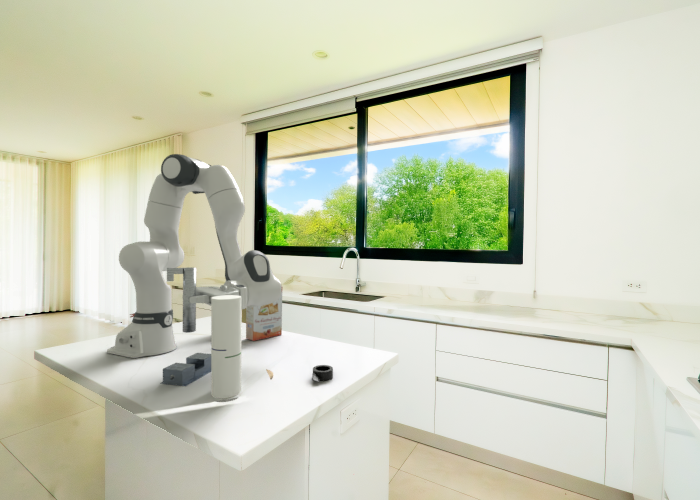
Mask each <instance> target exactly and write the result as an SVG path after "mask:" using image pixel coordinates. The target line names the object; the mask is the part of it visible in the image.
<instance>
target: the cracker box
mask: <svg viewBox="0 0 700 500" xmlns="http://www.w3.org/2000/svg"><path fill="white" fill-rule="evenodd" d="M245 313H246V316H245V320H246V322H245V338H246V339H247V340H250V341H252V342H255V341H260V340H263V339H269V338H274V337H279V336H282V329H283V328H282V325H283V323H282V322H283V291H282V292H281V295H280V297H279V299H278V300H277V301H276V302H274V303H271V304H267V305H262V306H247V307H246V312H245Z"/></svg>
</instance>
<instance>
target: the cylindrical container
mask: <svg viewBox="0 0 700 500" xmlns="http://www.w3.org/2000/svg"><path fill="white" fill-rule="evenodd" d="M210 307H211V308H210V309H211V311H210V313H211V315H210V318H211V322H210V325H211V328H210V329H211V330H210V331H211V332H210V333H211V335H210V337H211V338H210V339H211V343H210V346H211V349H210V351H211V352H210V354H211V372H210V373H211V375H210V377H211V379H210V380H211V381H210V382H211V384H210V385H211V387H210V388H211V392H210V394H211V396H212V397H213V398H215V399H219V400H215V401H214V402H217V403H228V402H233V401H235V400H237V399H239V397H235V396H238V395H240V393H241V392H242V331H241V296H238V295H222V296H215V297H212V298H211V306H210Z"/></svg>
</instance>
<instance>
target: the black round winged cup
mask: <svg viewBox="0 0 700 500" xmlns="http://www.w3.org/2000/svg"><path fill="white" fill-rule="evenodd" d="M311 375H312V376H311V378H312V379H311V380H312V381H315V382H318V383H319V382H328V381H332V379H333V378H334V376H333V375H334V368H333V366H331V365H328V364H319V365H318V364H317V365H316V366H314V367H312V374H311Z"/></svg>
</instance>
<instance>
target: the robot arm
mask: <svg viewBox="0 0 700 500" xmlns="http://www.w3.org/2000/svg"><path fill="white" fill-rule="evenodd" d="M160 172H161V173H159V174H157V176H156V177H155V179H154V182H153V183H152V186H151V189H150V191H149V196H148V200H147V205H146V209H145V213H144V218H143V222H144V225H145V226H146V228H147V229H148V232H149V241H136V242H132V243H128V244H126V245H125V246H122V247H121V250H120V251H119V253H118V254H119V255H118V262H119V264H120V267H121V268H122V269H123V270H124V271H126V273H127V274H128V275H129V276H130V278H131V279H132V282H133V286H134V289H135V302H136V308H135V309H136V311H135V313H130V314H129V318H132V321H131V323H129V324H128V325H127V326H126V327H124V328H123V329H122V330H120V331H119V332H118V333H117V334H116V336H115V339H114V340H115V343H114V345H113V346H111V347H108V349H107V350H106V353H107V354H112V355H117V356H121V357H125V358H126V357H127V358H132V359H135V358H136V359H137V358H142V357H147V356H149V357H150V356H157V355H162V354H166V353H168V352H172V351H174V350H175V349H177V348H178V347H177V343H176V340H175V336H174V335H175V334H174V327H173V321H174V310H173V307H172V306H173V304H172V303H173V302H172V300H173V299H172V295H173V294H172V293H173V292H172V288H171V287H172V286H170V285H169V284H167V281H165V277H164V275H163V272H167V268H180V266H181V265H183V263H184V260H185V252H184V249H183V248H182V246H181V243H180V236H179V235H180V234H179V232H180V231H179V230H180V229H179V227H180V223H181V217H182V212H183V209H184V208H183V207H184V203H185V198H186V196H187V195H188V194H189V193H192V194H194V195H197V194H205V197H206V200H207V201H208V204H209V205H208V206H209V208H210V211H211V213H212V218H213V220H214V221H213V222H214V228H215V231H216V236H217V240H218V244H219V247H220V251H221V254H222V259H223V261H224V279H225V282H224V283H223V284H222V285H220V287H219V286H196V296H190V297H189V298H188V299H189V300H188V302H190V303H196V304H206V305H208V306H210V307H211V298H212V297H215V296H222V295H238V296H241V309H242V310H245V309H246V307H247V306H262V305H267V304H271V303H274V302H276V301H277V300H278V299H279V297H280V295H281V292H282V293H283V286H282V283H281V281H280V279H279V278H278V277H276V275H275V274H274V273H273V271H272V268H271V265H270V261H269V259H268V257H267V256H266V254H265V253H263V252H261V251H260V250H255V249H253V250H252V249H251V250H249V251H246V253H244V254H242V251H241V247H240V243H239V241H238V230H239V226H240V223H241V222H242V219H243V217H244V215H245V213H246V212H245V211H246V206H245V200H244V196H243V194H242V192H241V189H240V187H239V185H238V183H237V181H236V179H235V176H233V174H232V173H231V171H230V169H229V168H228V167H226V166H224V165H222V164H221V165H220V164H213V165H211V164H209V163H207V162H204V161H202V160H200V159H197V158H194V157H190V156H187V155H184V154H179V153H172V154H169V155H167V156H166V157H165V158H164V159H163V160H162V163H161V165H160Z"/></svg>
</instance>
